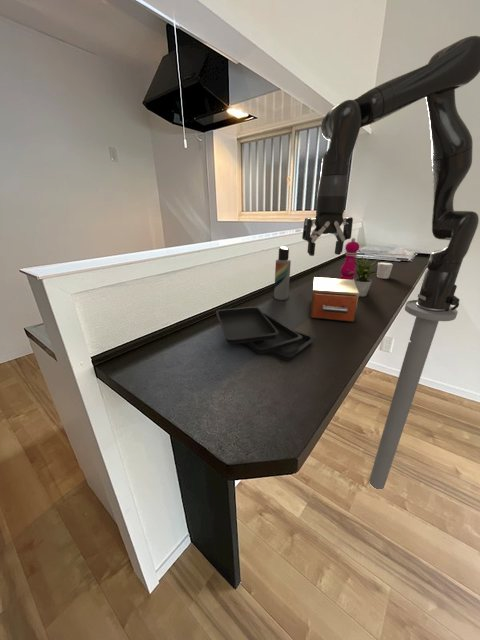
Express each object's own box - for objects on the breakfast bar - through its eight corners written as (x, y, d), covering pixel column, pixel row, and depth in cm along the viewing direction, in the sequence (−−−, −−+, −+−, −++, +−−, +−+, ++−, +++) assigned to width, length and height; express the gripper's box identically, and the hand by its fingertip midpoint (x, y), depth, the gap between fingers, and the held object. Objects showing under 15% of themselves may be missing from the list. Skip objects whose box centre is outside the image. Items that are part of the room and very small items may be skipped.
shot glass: (380, 279, 131) (383, 265, 129) (372, 275, 138) (375, 262, 135) (393, 278, 132) (396, 264, 129) (385, 275, 138) (388, 261, 135)
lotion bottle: (281, 294, 111) (283, 245, 102) (291, 298, 106) (294, 247, 98) (271, 297, 107) (273, 247, 99) (281, 301, 103) (284, 249, 95)
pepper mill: (345, 277, 135) (351, 236, 127) (357, 280, 130) (365, 238, 122) (336, 279, 131) (342, 237, 123) (348, 282, 126) (356, 239, 118)
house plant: (331, 291, 114) (337, 252, 108) (356, 287, 119) (362, 250, 113) (356, 301, 102) (364, 259, 96) (382, 296, 107) (391, 256, 101)
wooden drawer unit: (354, 327, 79) (359, 302, 75) (311, 323, 82) (314, 299, 79) (348, 305, 96) (352, 284, 93) (313, 302, 99) (315, 281, 96)
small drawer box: (353, 322, 85) (359, 293, 81) (309, 317, 88) (312, 289, 84) (349, 305, 98) (353, 279, 95) (311, 302, 102) (314, 277, 98)
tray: (320, 336, 76) (322, 319, 74) (290, 378, 58) (291, 358, 56) (233, 315, 90) (233, 301, 88) (187, 344, 72) (185, 327, 70)
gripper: (314, 194, 67) (308, 258, 74) (363, 194, 70) (353, 256, 77) (301, 195, 74) (297, 253, 81) (347, 195, 77) (339, 251, 83)
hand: (324, 254), depth 79 cm, fingers open, 8 cm apart
